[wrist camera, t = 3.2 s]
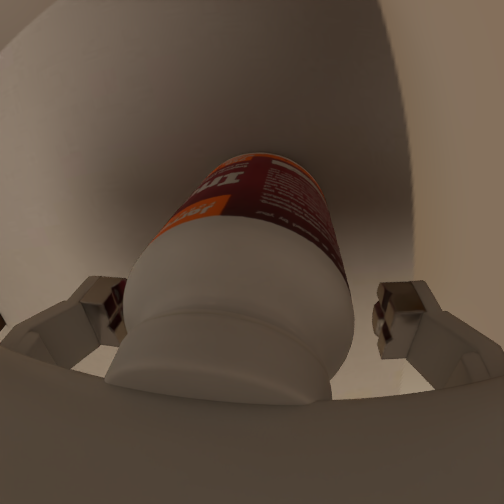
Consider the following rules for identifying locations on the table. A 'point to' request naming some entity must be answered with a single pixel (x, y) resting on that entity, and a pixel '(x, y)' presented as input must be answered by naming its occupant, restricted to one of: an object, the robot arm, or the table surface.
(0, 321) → the brown wooden block
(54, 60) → the table surface
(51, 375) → the robot arm
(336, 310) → the pill bottle
